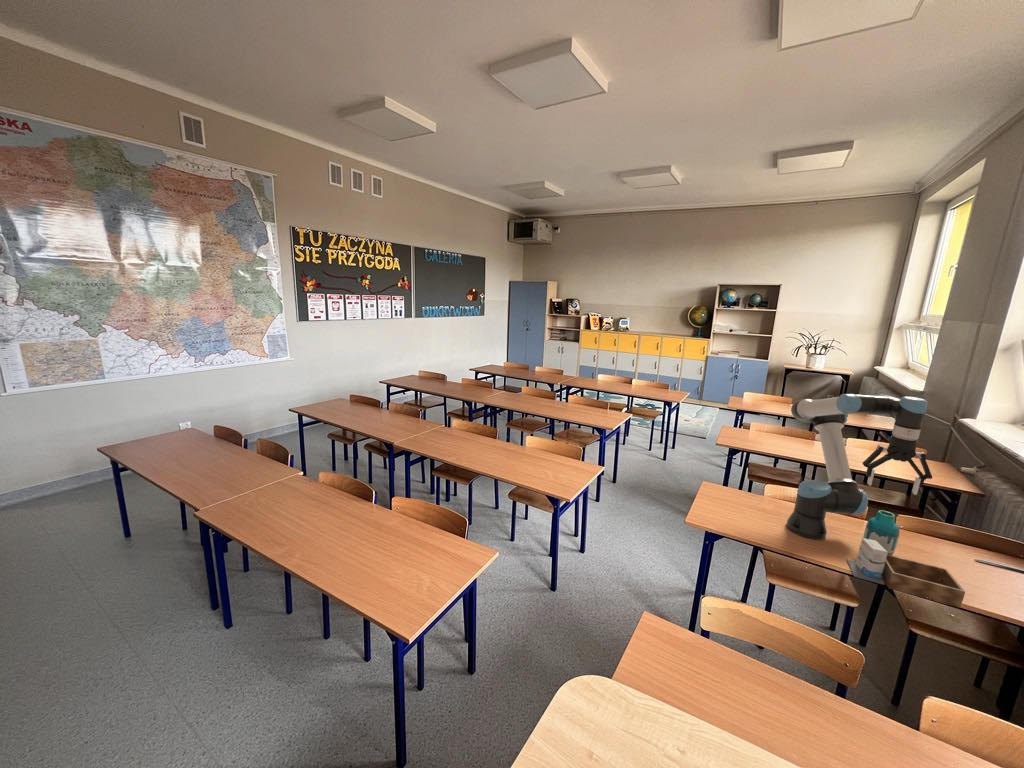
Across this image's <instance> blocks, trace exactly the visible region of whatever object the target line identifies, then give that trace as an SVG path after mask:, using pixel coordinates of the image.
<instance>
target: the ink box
mask: <svg viewBox="0 0 1024 768" xmlns="http://www.w3.org/2000/svg"><path fill="white" fill-rule="evenodd" d="M887 554H888V552H887V551H886V550H885V549H884V548H883V547H882V546H881V545H880V544H879V543H878V542H877V541H876V540H870V539H865V538H863V537H862V538H861V542H860V544H859V549H858V554H857V558H856V565H857V566H858V567H859V568H860V569H861V570H862V572H863V573H864V574H865V575H866V576H867V577H872V578H878V579H881V578H882V573H883V569H884V565H885V561H886V557H887Z"/></svg>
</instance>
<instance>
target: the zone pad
mask: <svg viewBox="0 0 1024 768" xmlns="http://www.w3.org/2000/svg"><path fill="white" fill-rule="evenodd" d="M856 561H857V560H856ZM856 561H855V560H852V559H848V558H846V562H847V565H848V567H849V569H850V570H851V573H852V575H853V577H854V578H857V579H862V580H864V581H867V582H872V583H876V584H880V585H885V581H884V579H883V578H882V577H881V579H878V578H872V577H867V576H866V575H865V574H864V573H863V572H862V570H861V569H860V568H859V567H858V566H857V565H856Z"/></svg>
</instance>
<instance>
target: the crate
mask: <svg viewBox="0 0 1024 768" xmlns="http://www.w3.org/2000/svg"><path fill="white" fill-rule="evenodd" d="M881 578H882V580H883V582H884V584H885V585H886V586H887V588H888V589H889V590H892V591H897V592H900V593H903V594H904V593H905V594H907V595H911V596H915V597H918V598H922V599H926V600H929V601H932V602H933V601H934V602H937V603H940V604H944V605H948V606H952V607H955V608H958V609H961V607H962V604H963V600H964V597H965V594H966V591H965V590H964V588H963V587H962V586H961V585H960V583H959V582H958V581H957V579H955V577H954V576H953V575H952V574H951V573H950V571H949V570H948V569H947V568H945V567H940V566H936V565H933V564H932V565H931V564H929V563H924V562H920V561H915V560H912V559H908V558H904V557H899V556H895V555H888V554H887V557H886V561H885V565H884V569H883V573H882V577H881ZM926 597H928V598H926ZM932 599H933V600H932Z"/></svg>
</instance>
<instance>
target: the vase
mask: <svg viewBox="0 0 1024 768" xmlns="http://www.w3.org/2000/svg"><path fill="white" fill-rule="evenodd" d="M895 519H896V515H895V514H894V513H892V512H890V511H886V510H883V509H881V510H878V511H877V513H876V516H875V517H871V518H869V519H868V521H867V522H866V525H865V528H864V532H863V536H862V538H865V539H870V540H876V541H877V542H878V543H879V544H880V545H881V546H882V547H883V548H884V549H885V550H886V551H887V552H888V555H892V556H894V554H895V551H896V549H897V547H898V546H897V545H898V542H899V537H900V527H899V525H898V524H897V523H895Z"/></svg>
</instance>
